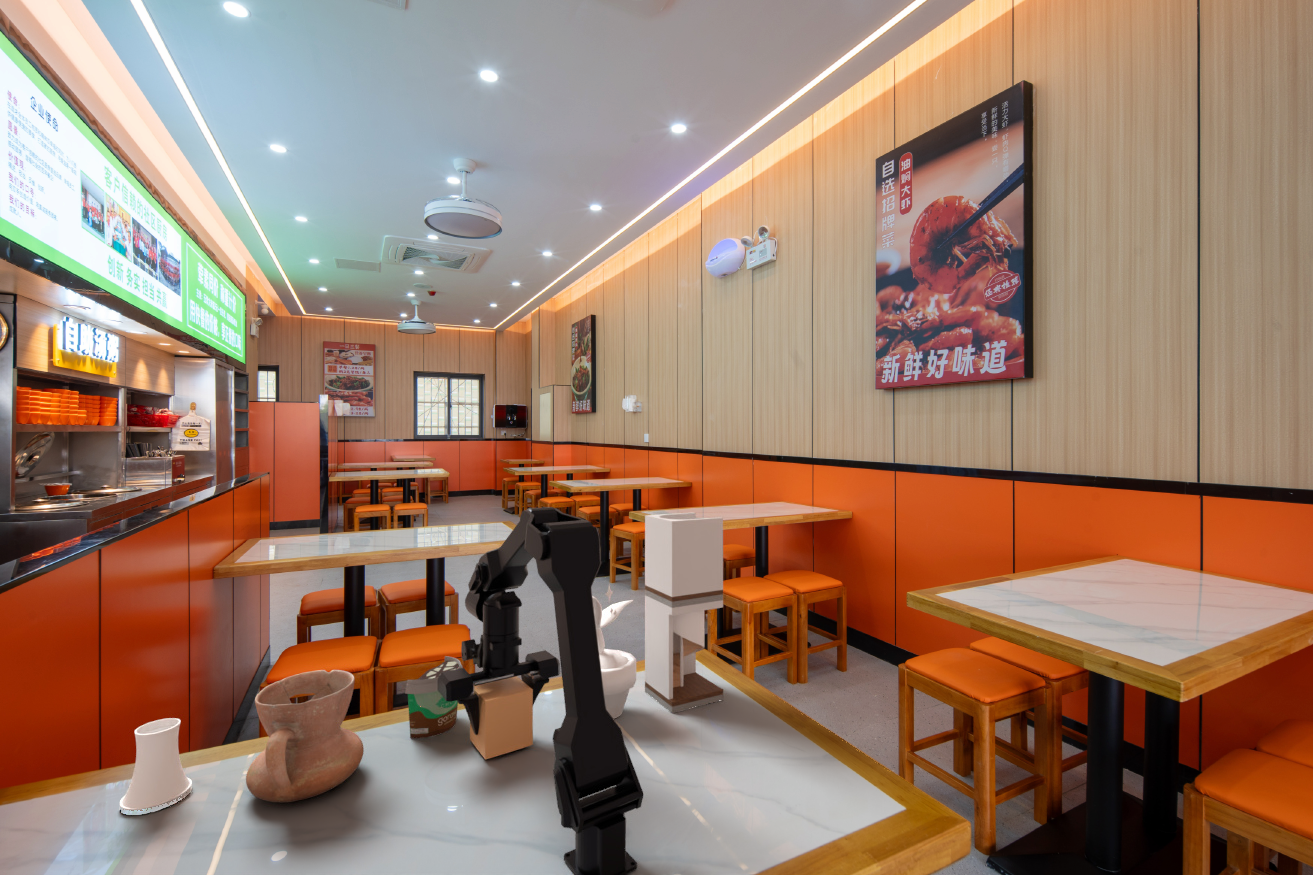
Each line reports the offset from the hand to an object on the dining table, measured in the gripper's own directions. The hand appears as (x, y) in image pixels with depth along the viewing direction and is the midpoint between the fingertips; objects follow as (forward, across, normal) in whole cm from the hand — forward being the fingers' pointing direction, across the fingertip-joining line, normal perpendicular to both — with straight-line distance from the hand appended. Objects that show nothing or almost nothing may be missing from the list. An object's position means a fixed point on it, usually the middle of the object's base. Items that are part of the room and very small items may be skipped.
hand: (500, 726), depth 95 cm
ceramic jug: (+3, +27, -5) cm, 28 cm away
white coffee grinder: (+3, -36, +2) cm, 36 cm away
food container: (+3, +6, -12) cm, 14 cm away
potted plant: (+3, -20, 0) cm, 20 cm away
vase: (+3, +44, -13) cm, 46 cm away
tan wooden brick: (+2, 0, 0) cm, 2 cm away
